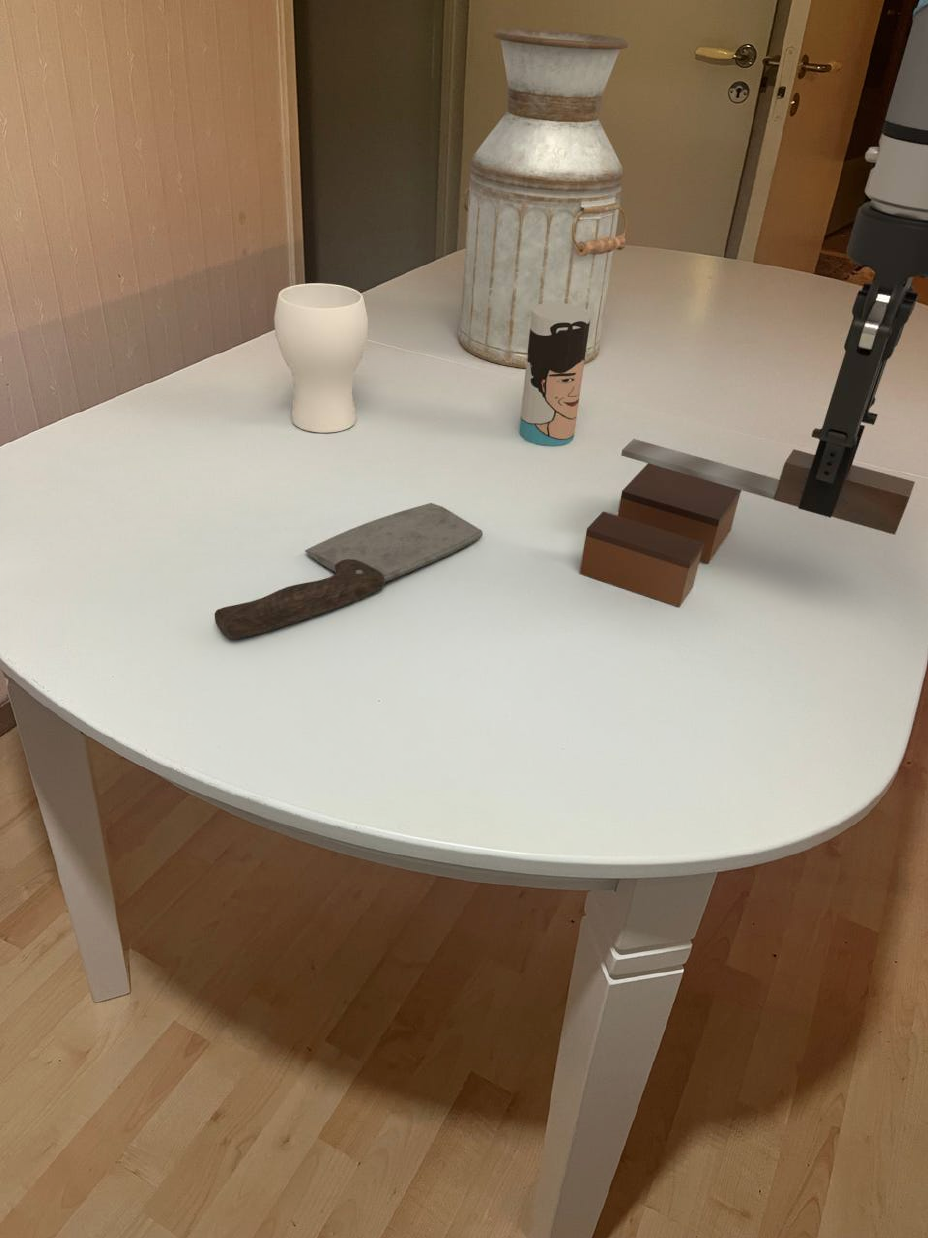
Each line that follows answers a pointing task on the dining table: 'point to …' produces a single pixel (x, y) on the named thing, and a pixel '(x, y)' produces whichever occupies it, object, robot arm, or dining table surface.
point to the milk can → (542, 195)
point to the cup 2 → (554, 373)
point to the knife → (795, 484)
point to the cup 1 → (322, 351)
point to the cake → (681, 506)
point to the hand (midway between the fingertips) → (820, 501)
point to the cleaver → (355, 567)
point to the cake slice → (640, 558)
